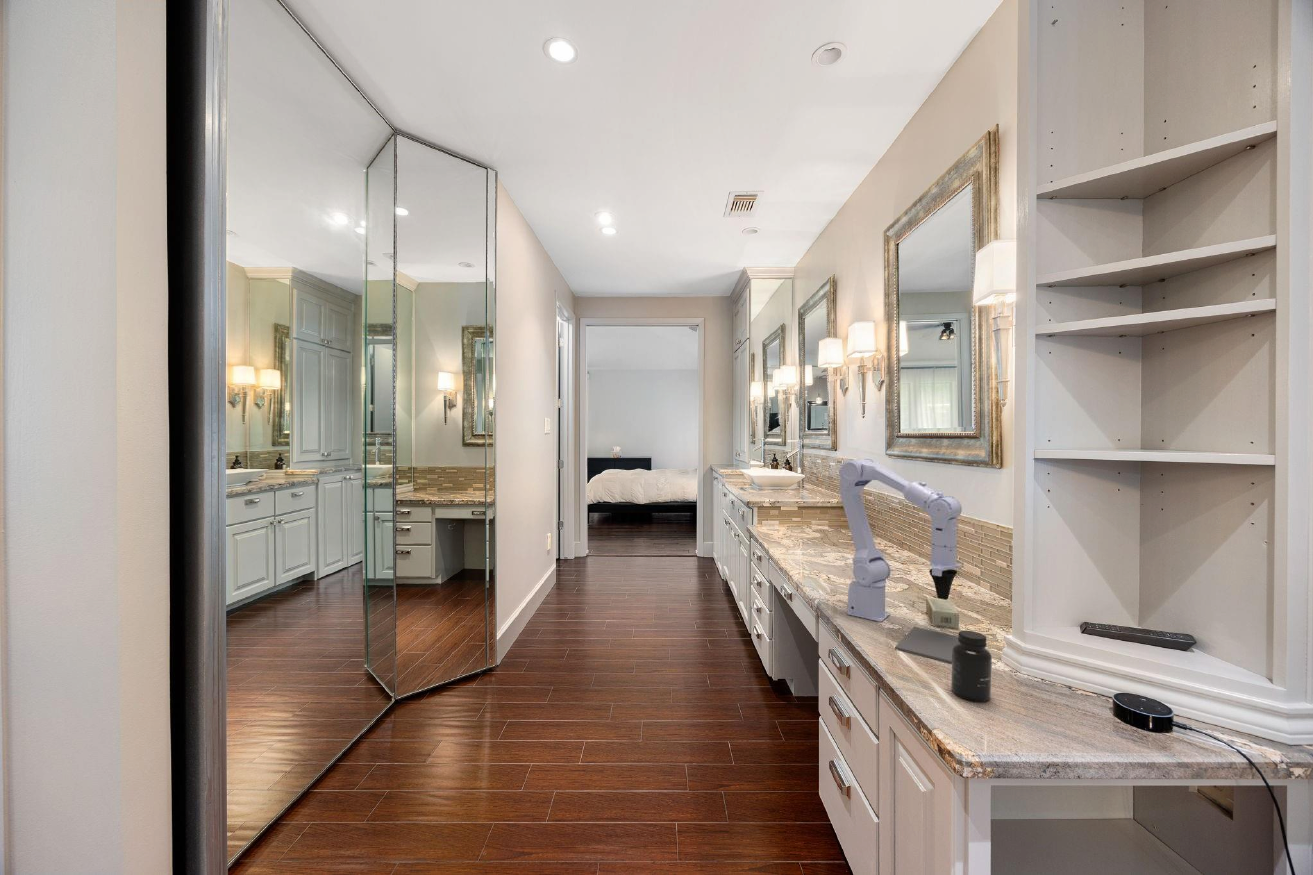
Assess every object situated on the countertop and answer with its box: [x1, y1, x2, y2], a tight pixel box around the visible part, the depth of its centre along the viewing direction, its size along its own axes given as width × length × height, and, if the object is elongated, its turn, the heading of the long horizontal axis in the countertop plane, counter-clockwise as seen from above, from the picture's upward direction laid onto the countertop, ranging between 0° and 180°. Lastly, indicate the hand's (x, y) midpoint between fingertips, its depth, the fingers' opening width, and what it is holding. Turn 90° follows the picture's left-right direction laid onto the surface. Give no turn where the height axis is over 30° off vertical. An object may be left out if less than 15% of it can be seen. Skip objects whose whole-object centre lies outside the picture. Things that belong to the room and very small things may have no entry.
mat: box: [894, 626, 959, 665], centre depth 131 cm, size 14×17×1 cm
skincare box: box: [925, 596, 960, 630], centre depth 149 cm, size 6×4×12 cm
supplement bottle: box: [950, 629, 993, 703], centre depth 108 cm, size 7×7×12 cm
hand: (942, 598), depth 136 cm, fingers closed
